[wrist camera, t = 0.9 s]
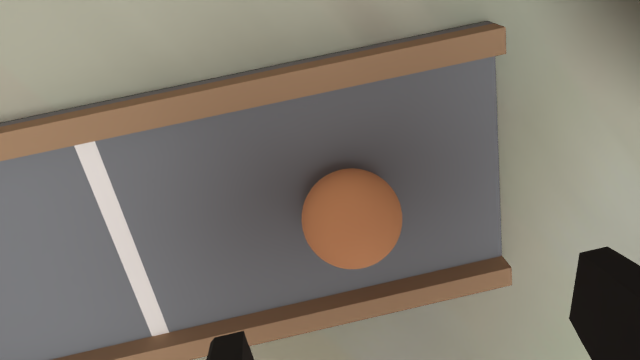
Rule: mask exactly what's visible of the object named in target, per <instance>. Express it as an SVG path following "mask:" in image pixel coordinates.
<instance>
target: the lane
mask: <svg viewBox="0 0 640 360" xmlns="http://www.w3.org/2000/svg"><path fill="white" fill-rule="evenodd" d="M503 54H506V28H505V27H503V26H500V25H498V24H495V23H492V22H489V21H485V22H480V23H476V24H471V25H466V26H461V27H457V28H452V29H447V30H442V31H438V32H433V33H428V34H423V35H418V36H414V37H409V38H404V39H399V40H395V41H390V42H385V43H380V44H375V45H371V46H366V47H361V48H356V49H352V50H347V51H342V52H337V53H332V54H328V55H323V56H318V57H313V58H309V59H304V60H299V61H294V62H290V63H285V64H280V65H275V66H270V67H266V68H261V69H256V70H251V71H247V72H242V73H237V74H232V75H227V76H223V77H218V78H213V79H208V80H204V81H199V82H194V83H189V84H184V85H180V86H175V87H170V88H165V89H161V90H156V91H151V92H146V93H142V94H137V95H132V96H127V97H122V98H118V99H113V100H108V101H103V102H99V103H94V104H89V105H84V106H79V107H75V108H70V109H65V110H60V111H56V112H51V113H46V114H41V115H36V116H32V117H27V118H22V119H17V120H13V121H8V122H3V123H0V360H192V359H196V358H200V357H205V356H207V355H208V351H209V347H210V343H211V341H212V340H213V339H214V338H215V337H219V336H223V335H228V334H232V333H236V332H241V331H244V333H245V336H246V339H247V342H248V344H249V346H252V345H256V344H260V343H265V342H269V341H273V340H278V339H282V338H286V337H290V336H295V335H299V334H303V333H308V332H312V331H316V330H321V329H325V328H329V327H333V326H338V325H342V324H346V323H351V322H355V321H359V320H363V319H368V318H372V317H376V316H381V315H385V314H389V313H394V312H398V311H402V310H406V309H411V308H415V307H419V306H424V305H428V304H432V303H437V302H441V301H445V300H449V299H454V298H458V297H462V296H467V295H471V294H475V293H479V292H484V291H488V290H492V289H497V288H501V287H505V286H510V285H512V270H511V266H510V265H509V264H508V263H507V262H506V260H505V259H504V258H503V257H502V243H501V214H500V184H499V155H498V125H497V96H496V66H495V56H498V55H503ZM348 168H355V169H362V170H366V171H369V172H372V173H374V174H376V175H378V176H379V177H380V178H382V179H383V180H385V181H386V182H387V183H388V184H389V185H390V187H391V188H392V189H393V191H394V192H395V194H396V195H397V197H398V200H399V202H400V205H401V210H402V229H401V233H400V236H399V238H398V241H397V243H396V244H395V246H394V248H393V249H392V250H391V252H390V253H389V254H388V255H387V256H386V257H384V258H383V259H382V260H381V261H379V262H378V263H376V264H374V265H371V266H369V267H366V268H361V269H343V268H339V267H335V266H333V265H331V264H329V263H327V262H325V261H323V260H322V259H321V258H320V257H319V256H317V255H316V254H315V253H314V251H313V250H312V249H311V247H310V246H309V244H308V243H307V241H306V238H305V236H304V232H303V229H302V209H303V205H304V201H305V199H306V197H307V195H308V193H309V192H310V190H311V188H312V187H313V186H314V185H315V184H316V183H317V182H318V181H319V180H320V179H322V178H323V177H324V176H326V175H328V174H330V173H332V172H334V171H338V170H341V169H348Z"/></svg>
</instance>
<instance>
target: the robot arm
mask: <svg viewBox="0 0 640 360" xmlns="http://www.w3.org/2000/svg"><path fill="white" fill-rule="evenodd" d="M569 319H570V321H571V323H572V325H573V327H574V328H575V330H576V332H577V334H578V336H579V338H580V340H581V342H582V343H583V345H584V347H585V349H586V350H587V352H588V354H589V356H590V357H591V359H592V360H640V266H639V265H638V264H636V263H634V262H633V261H631V260H629V259H628V258H626V257H624V256H623V255H621V254H619V253H618V252H616V251H614V250H612V249H611V248H609V247H603V248H599V249H595V250H591V251H586V252H582V253H580V254H579V260H578V267H577V273H576V279H575V285H574V292H573V298H572V304H571V311H570V317H569ZM206 360H254V358H253V356H252V353H251V350H250V347H249V344H248V342H247V339H246V336H245V333H244V331H241V332H236V333H232V334H228V335H223V336H219V337H215V338H214V339H213V340H212V341H211V343H210V347H209V351H208V355H207V359H206Z"/></svg>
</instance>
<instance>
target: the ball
mask: <svg viewBox="0 0 640 360" xmlns="http://www.w3.org/2000/svg"><path fill="white" fill-rule="evenodd" d="M302 229H303V232H304V236H305V238H306V241H307V243H308V244H309V246H310V247H311V249H312V250H313V251H314V253H315V254H316V255H317V256H319V257H320V258H321V259H322V260H323V261H325V262H327V263H329V264H331V265H333V266H335V267H339V268H343V269H361V268H366V267H369V266H371V265H374V264H376V263H378V262H379V261H381V260H382V259H383V258H384V257H386V256H387V255H388V254H389V253H390V252H391V250H392V249H393V248H394V246H395V244H396V243H397V241H398V238H399V236H400V233H401V229H402V210H401V205H400V202H399V200H398V197H397V195H396V194H395V192H394V191H393V189H392V188H391V187H390V185H389V184H388V183H387V182H386V181H385V180H383V179H382V178H380V177H379V176H378V175H376V174H374V173H372V172H369V171H366V170H362V169H355V168H348V169H341V170H338V171H334V172H332V173H330V174H328V175H326V176H324V177H323V178H322V179H320V180H319V181H318V182H317V183H316V184H315V185H314V186H313V187H312V188H311V190H310V192H309V193H308V195H307V197H306V199H305V201H304V205H303V209H302Z"/></svg>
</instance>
